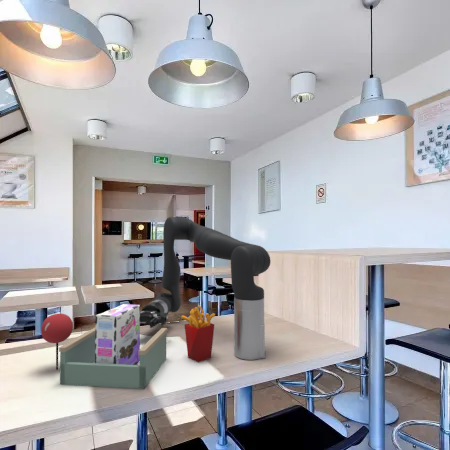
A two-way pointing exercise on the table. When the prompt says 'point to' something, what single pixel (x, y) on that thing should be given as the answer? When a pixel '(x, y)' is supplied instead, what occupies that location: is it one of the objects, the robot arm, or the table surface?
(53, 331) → the lollipop
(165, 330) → the low partition wall
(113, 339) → the candy box
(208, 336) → the french fries
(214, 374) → the table surface
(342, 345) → the table surface
